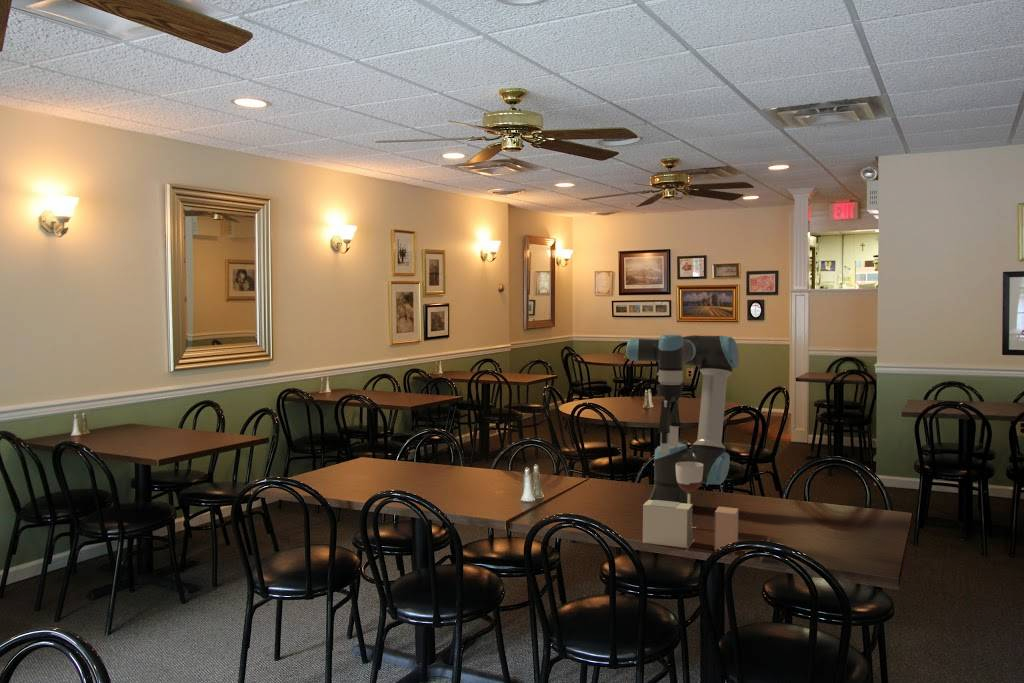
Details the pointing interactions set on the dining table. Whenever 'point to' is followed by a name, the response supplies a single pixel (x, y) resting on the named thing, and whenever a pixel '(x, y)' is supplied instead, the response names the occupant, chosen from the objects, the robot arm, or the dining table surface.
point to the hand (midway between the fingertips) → (669, 449)
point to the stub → (725, 526)
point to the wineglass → (689, 476)
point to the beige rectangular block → (667, 523)
